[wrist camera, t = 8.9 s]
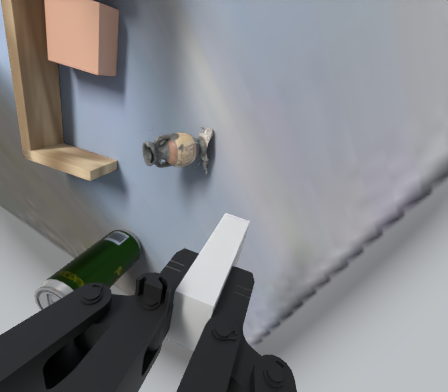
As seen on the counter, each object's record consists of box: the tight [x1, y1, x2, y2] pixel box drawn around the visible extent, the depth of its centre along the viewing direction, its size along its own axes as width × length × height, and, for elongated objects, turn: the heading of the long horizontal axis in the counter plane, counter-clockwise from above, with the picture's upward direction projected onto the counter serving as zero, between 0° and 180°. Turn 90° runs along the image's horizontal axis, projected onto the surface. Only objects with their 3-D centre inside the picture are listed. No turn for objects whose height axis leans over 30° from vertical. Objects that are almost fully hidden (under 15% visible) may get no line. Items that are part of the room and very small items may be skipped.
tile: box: [44, 0, 119, 76], centre depth 26 cm, size 6×6×3 cm
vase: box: [141, 126, 213, 175], centre depth 26 cm, size 5×5×6 cm
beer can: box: [35, 229, 141, 310], centre depth 32 cm, size 5×5×12 cm
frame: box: [1, 0, 117, 181], centre depth 27 cm, size 9×20×4 cm, turn 168°
